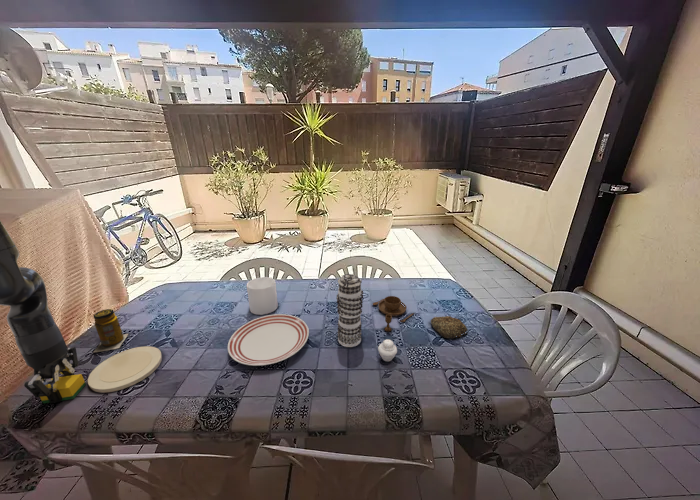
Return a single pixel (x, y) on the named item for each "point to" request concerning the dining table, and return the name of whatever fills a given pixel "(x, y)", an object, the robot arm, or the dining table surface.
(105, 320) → the condiment
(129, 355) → the side plate
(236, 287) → the dining table surface
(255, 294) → the cup
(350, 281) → the decorative candle
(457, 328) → the mossy brown rock
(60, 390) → the sponge
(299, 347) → the dinner plate
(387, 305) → the place setting
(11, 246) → the robot arm
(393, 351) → the white lidded jar
